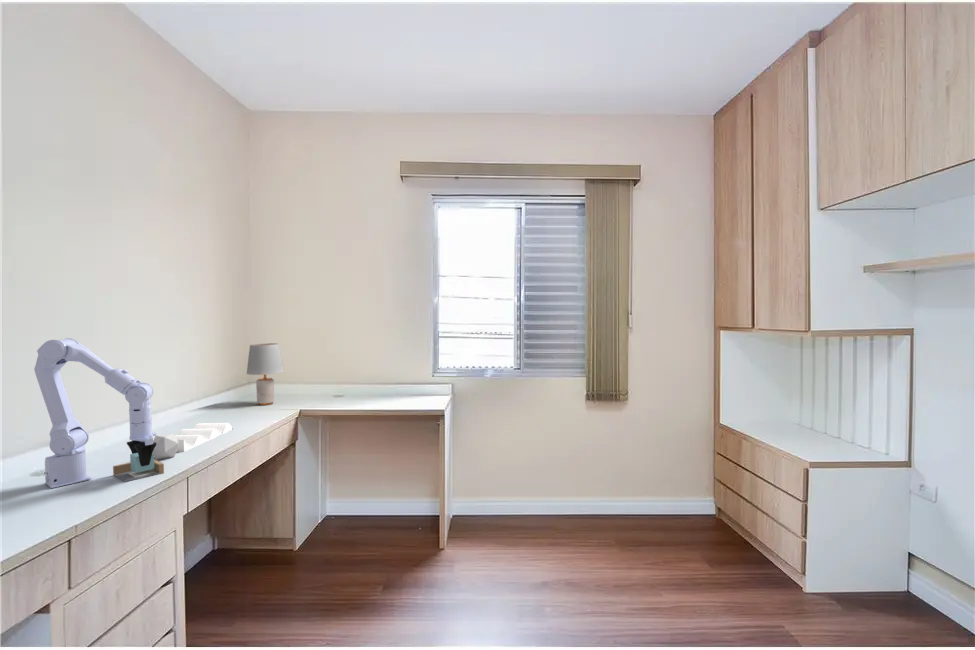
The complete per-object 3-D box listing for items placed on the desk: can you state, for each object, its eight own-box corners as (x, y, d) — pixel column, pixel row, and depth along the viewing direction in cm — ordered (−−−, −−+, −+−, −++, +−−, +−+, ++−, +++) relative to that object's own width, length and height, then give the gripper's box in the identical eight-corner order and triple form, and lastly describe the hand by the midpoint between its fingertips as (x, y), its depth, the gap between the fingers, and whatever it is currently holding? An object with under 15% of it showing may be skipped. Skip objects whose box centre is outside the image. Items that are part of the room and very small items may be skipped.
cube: (154, 468, 157) (153, 453, 157) (136, 472, 153) (135, 457, 153) (148, 465, 160) (148, 450, 160) (130, 469, 156) (130, 454, 156)
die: (181, 454, 181) (163, 433, 180) (188, 445, 176) (170, 424, 175) (158, 468, 174) (140, 447, 173) (166, 460, 169) (147, 438, 168)
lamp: (290, 401, 284) (289, 343, 283) (271, 407, 266) (269, 345, 265) (261, 400, 288) (259, 343, 287) (240, 406, 269) (238, 345, 268)
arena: (124, 482, 149) (124, 472, 149) (113, 475, 156) (113, 466, 156) (163, 472, 157) (163, 463, 157) (151, 466, 164) (151, 457, 164)
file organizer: (233, 430, 217) (233, 419, 217) (184, 453, 182) (183, 439, 182) (204, 431, 217) (203, 419, 217) (149, 454, 182) (148, 440, 182)
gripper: (163, 422, 155) (165, 464, 155) (147, 416, 164) (148, 456, 164) (137, 426, 149) (138, 470, 150) (121, 420, 158) (123, 462, 158)
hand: (142, 463), depth 156 cm, fingers closed on cube, 5 cm apart
